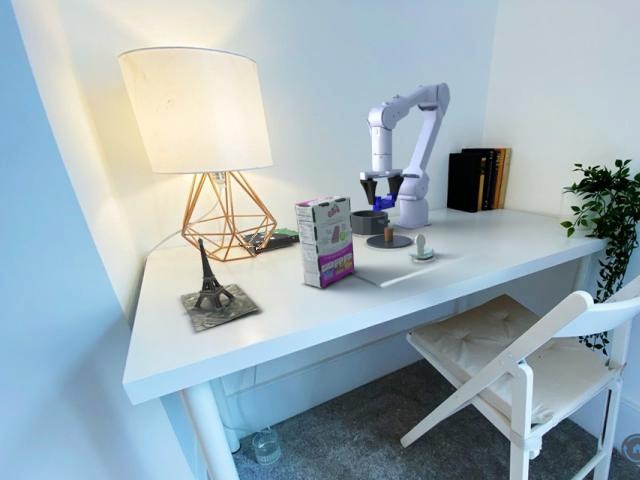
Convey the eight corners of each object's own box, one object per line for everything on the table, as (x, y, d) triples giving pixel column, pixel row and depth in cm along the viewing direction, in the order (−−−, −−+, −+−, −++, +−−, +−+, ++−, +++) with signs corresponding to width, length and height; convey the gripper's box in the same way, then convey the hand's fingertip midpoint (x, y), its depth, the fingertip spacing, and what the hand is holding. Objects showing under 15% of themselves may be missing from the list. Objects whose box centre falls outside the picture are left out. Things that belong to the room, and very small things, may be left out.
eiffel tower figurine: (261, 312, 58) (248, 236, 53) (197, 331, 52) (174, 248, 47) (234, 285, 69) (221, 220, 64) (178, 299, 63) (159, 228, 58)
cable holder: (386, 205, 106) (386, 192, 104) (395, 206, 104) (395, 193, 102) (369, 209, 101) (368, 195, 99) (378, 211, 98) (377, 197, 97)
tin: (367, 224, 117) (367, 207, 114) (401, 234, 105) (401, 215, 102) (339, 230, 110) (338, 212, 108) (371, 241, 98) (371, 220, 96)
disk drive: (254, 254, 88) (304, 242, 97) (252, 244, 87) (302, 232, 96) (238, 246, 95) (285, 235, 104) (236, 236, 94) (284, 226, 103)
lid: (391, 235, 103) (391, 220, 101) (420, 244, 94) (421, 228, 93) (357, 243, 96) (356, 227, 94) (386, 253, 87) (386, 236, 85)
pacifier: (442, 260, 82) (424, 254, 86) (444, 235, 80) (426, 230, 84) (420, 267, 78) (403, 260, 82) (422, 241, 75) (403, 235, 80)
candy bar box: (337, 268, 78) (332, 194, 71) (355, 272, 75) (351, 196, 69) (302, 284, 69) (293, 202, 62) (321, 289, 67) (313, 205, 60)
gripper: (370, 155, 89) (372, 208, 95) (410, 153, 98) (409, 201, 103) (355, 155, 94) (357, 204, 99) (393, 153, 103) (393, 199, 108)
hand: (382, 203), depth 102 cm, fingers closed on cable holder, 7 cm apart
